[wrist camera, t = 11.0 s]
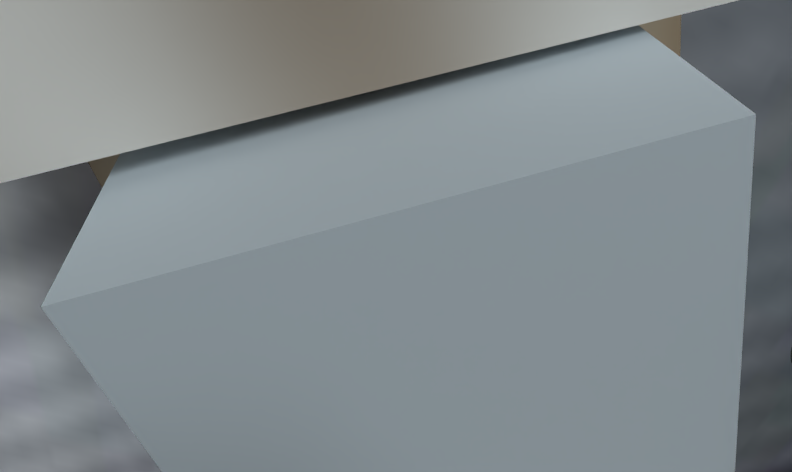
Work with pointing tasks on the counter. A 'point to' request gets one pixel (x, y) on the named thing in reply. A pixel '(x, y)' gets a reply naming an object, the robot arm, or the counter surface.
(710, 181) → the cabinet block
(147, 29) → the cleat board
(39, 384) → the counter surface
